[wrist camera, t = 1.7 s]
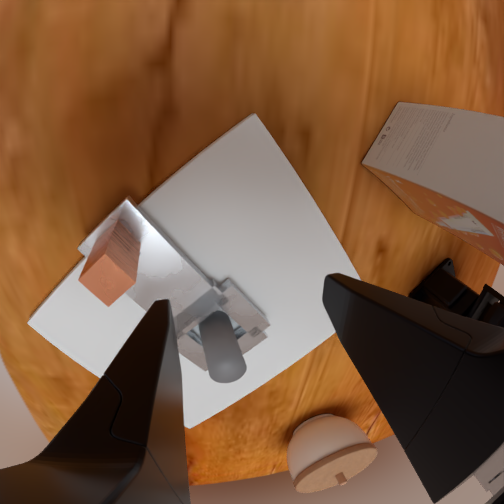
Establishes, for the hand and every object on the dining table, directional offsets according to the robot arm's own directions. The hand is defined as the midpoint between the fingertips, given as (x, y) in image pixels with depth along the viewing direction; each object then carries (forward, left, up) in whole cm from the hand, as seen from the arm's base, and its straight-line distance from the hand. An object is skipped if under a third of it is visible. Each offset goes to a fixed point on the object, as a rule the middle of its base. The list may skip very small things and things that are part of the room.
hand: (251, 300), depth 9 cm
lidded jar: (-32, +8, -12) cm, 35 cm away
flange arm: (-4, +5, -11) cm, 13 cm away
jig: (-8, +5, -12) cm, 15 cm away
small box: (-8, -15, -12) cm, 21 cm away
